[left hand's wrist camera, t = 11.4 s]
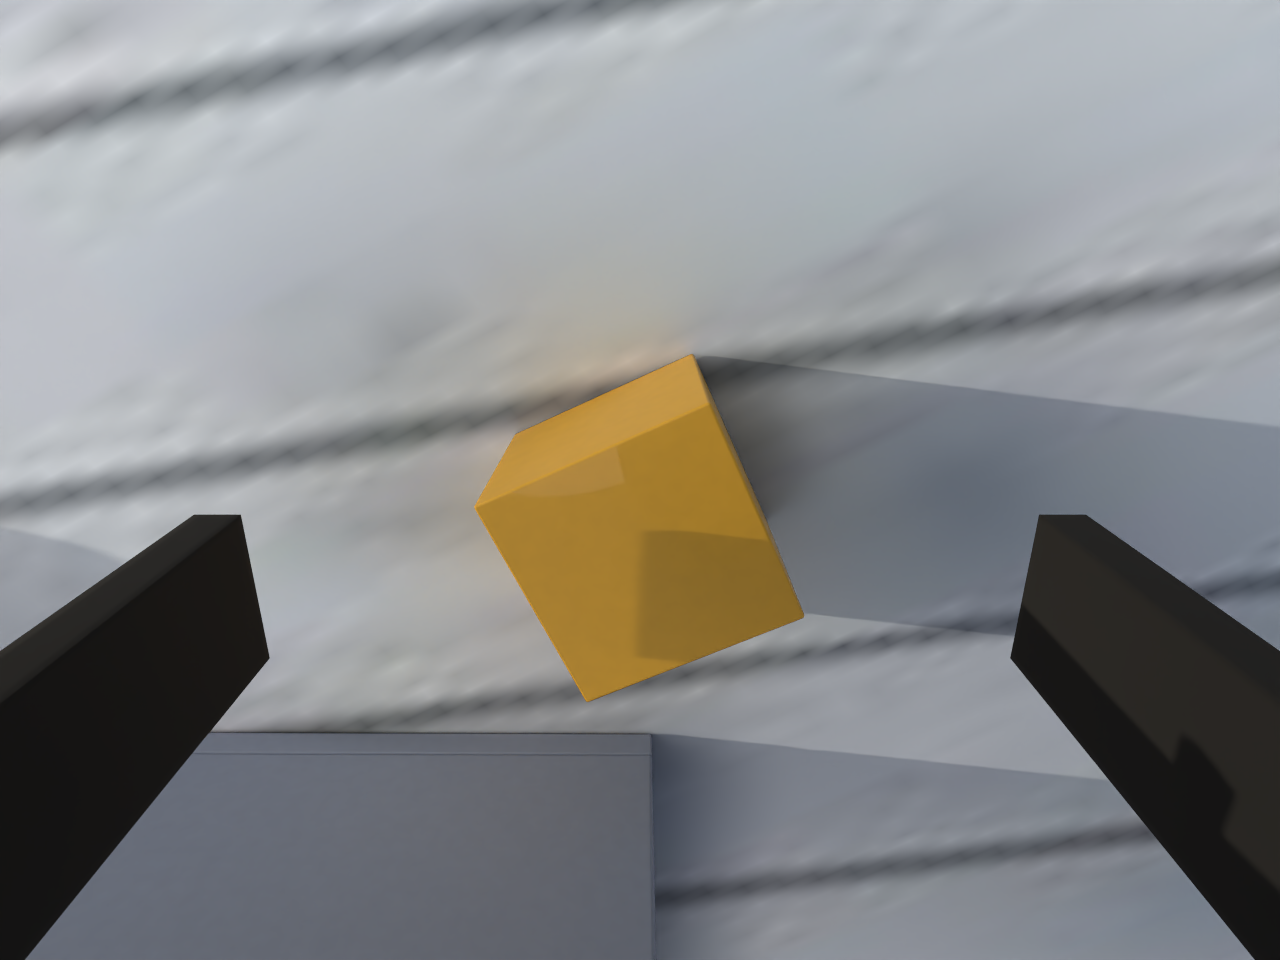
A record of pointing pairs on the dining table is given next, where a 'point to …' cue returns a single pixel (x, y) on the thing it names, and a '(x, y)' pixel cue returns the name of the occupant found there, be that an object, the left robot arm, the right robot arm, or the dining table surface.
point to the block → (637, 532)
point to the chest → (382, 853)
